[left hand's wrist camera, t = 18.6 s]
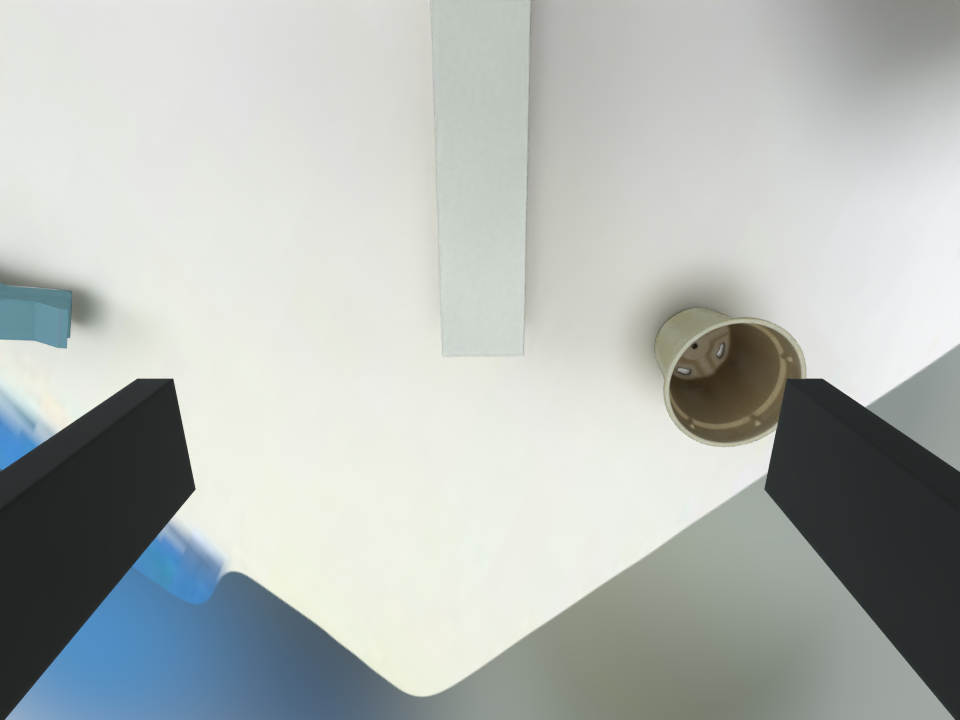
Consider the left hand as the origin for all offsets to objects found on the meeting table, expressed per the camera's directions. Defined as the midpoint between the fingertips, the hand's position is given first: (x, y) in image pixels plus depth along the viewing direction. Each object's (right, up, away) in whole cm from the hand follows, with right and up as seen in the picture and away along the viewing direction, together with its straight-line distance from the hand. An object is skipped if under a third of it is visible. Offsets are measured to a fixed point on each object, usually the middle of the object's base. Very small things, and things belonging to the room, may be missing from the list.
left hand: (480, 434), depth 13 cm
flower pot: (+17, +3, +34) cm, 38 cm away
